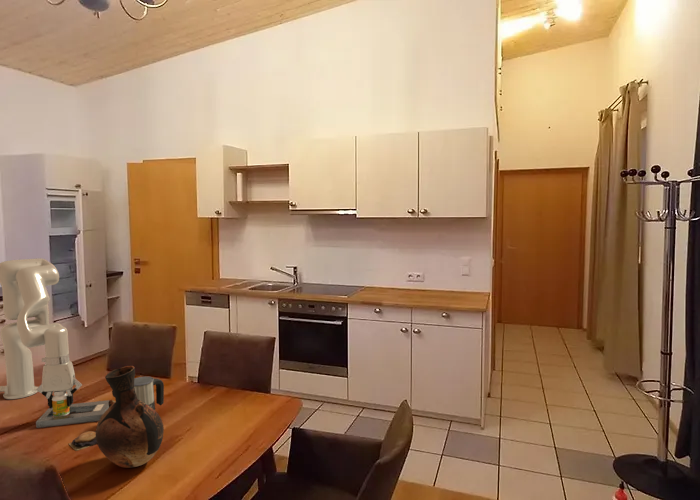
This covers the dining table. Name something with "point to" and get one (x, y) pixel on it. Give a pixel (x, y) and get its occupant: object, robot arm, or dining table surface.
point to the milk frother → (149, 390)
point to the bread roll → (84, 440)
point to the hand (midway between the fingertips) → (60, 405)
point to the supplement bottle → (60, 403)
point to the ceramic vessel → (128, 423)
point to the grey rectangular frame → (95, 415)
